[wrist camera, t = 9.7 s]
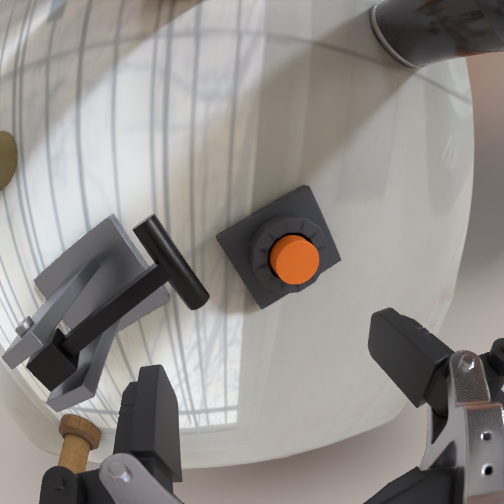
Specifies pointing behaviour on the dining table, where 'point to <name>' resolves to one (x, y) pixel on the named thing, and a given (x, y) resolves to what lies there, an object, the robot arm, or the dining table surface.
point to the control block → (265, 237)
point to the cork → (7, 158)
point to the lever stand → (84, 305)
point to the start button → (294, 259)
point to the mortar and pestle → (77, 442)
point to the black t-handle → (120, 305)
